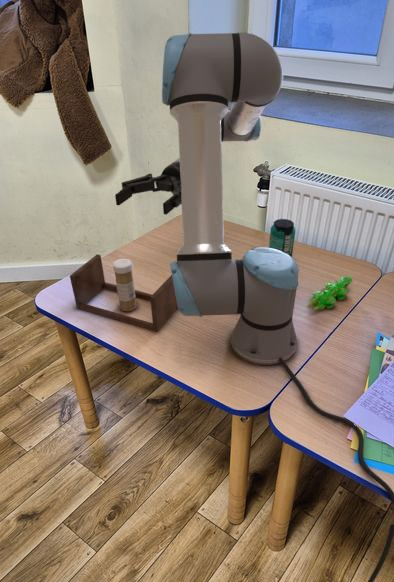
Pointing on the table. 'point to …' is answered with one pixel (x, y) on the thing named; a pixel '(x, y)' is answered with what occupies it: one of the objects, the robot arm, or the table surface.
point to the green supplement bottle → (282, 236)
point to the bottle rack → (92, 282)
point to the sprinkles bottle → (125, 284)
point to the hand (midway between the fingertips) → (140, 204)
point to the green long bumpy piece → (331, 293)
